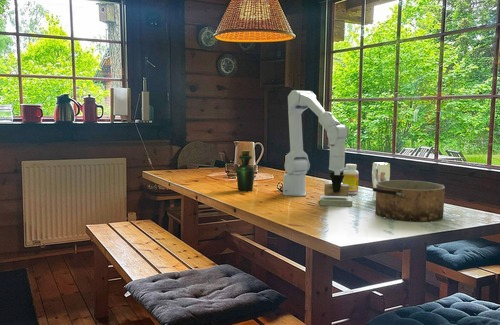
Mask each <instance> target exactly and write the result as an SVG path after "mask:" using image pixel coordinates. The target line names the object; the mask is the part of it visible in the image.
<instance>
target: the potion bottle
mask: <svg viewBox="0 0 500 325" xmlns="http://www.w3.org/2000/svg"><path fill="white" fill-rule="evenodd" d="M240 151H241V155H239V157H238V159H240V161H241V164H240V165H239V166H237V167H236V169H235V170H236V181H237V182H236V184H237V190H240V191H251V192H253V190H254V189H253V188H254V179H255V168H254V167H253V166H252V165H250V162H251V161H250V160H251V159H253V156H252V155H251V154H250V152H251V150H248V149H242V150H240ZM240 191H239V192H240Z"/></svg>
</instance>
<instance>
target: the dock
mask: <svg viewBox="0 0 500 325" xmlns="http://www.w3.org/2000/svg"><path fill="white" fill-rule="evenodd" d="M319 205H320V206H330V207H331V206H333V207H334V206H335V207H339V206H340V207H353V198H352V196H351V195H348V197H345V196H325V195H324V194H323V195H320V196H319Z"/></svg>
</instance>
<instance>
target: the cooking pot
mask: <svg viewBox="0 0 500 325" xmlns="http://www.w3.org/2000/svg"><path fill="white" fill-rule="evenodd" d="M445 189H446V185H445V184H443V183H437V182H431V181H421V180H408V179H406V180H404V179H400V180H399V179H395V180H394V179H391V180H390V179H389V180H388V181H380V182H377V183H376V188H372V192H373V191H375V192H376V201H375V206H374V207H375V209H374V212H375V214H376V215H377V216H378V217H381V218H384V217H385V218H384V219H388V218H389V220H392V219H393V220H394V221H399V222H409V223H431V221H433V222H436V221H437V220H438V221H440V220H442V219H443V217H444V209H445V208H444V207H445V193H446V192H445V191H446V190H445Z"/></svg>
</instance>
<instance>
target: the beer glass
mask: <svg viewBox="0 0 500 325" xmlns="http://www.w3.org/2000/svg"><path fill="white" fill-rule="evenodd" d="M390 177H391V163H389V162H380V161H379V162H378V161H377V162H372V170H371V178H372V179H371V180H372V187H373V188H376V183H377V182H380V181H388V180H390ZM373 188H372V189H373ZM371 199H372V201H375V202H376V192H375V191H373V190H372V198H371Z"/></svg>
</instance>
